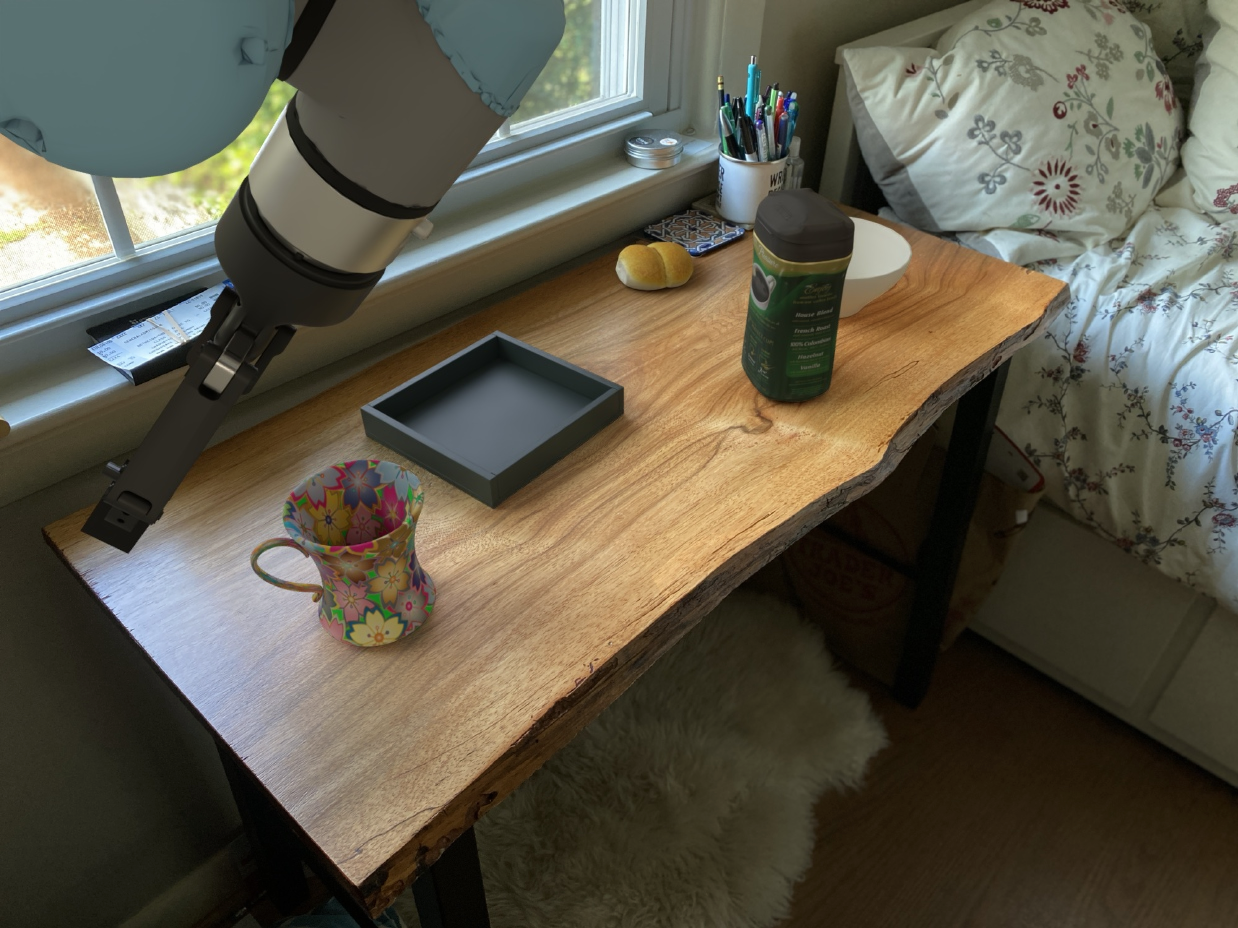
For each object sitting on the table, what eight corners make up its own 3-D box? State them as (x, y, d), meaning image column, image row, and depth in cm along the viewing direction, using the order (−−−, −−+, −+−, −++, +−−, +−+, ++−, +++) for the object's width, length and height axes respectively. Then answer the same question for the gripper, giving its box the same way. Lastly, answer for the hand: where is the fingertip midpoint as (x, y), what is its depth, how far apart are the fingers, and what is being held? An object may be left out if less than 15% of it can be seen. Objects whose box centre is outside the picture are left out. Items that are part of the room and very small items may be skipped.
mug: (422, 551, 74) (402, 445, 67) (459, 631, 67) (441, 522, 61) (267, 600, 70) (229, 492, 63) (290, 690, 63) (251, 580, 57)
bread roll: (703, 285, 109) (705, 254, 106) (630, 297, 107) (630, 265, 104) (677, 255, 115) (678, 225, 112) (608, 266, 113) (607, 235, 110)
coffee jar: (841, 399, 90) (873, 218, 79) (765, 411, 89) (786, 228, 77) (802, 349, 98) (826, 176, 86) (730, 359, 96) (745, 185, 85)
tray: (493, 509, 78) (489, 480, 76) (365, 435, 86) (359, 407, 84) (624, 413, 89) (624, 386, 87) (499, 356, 97) (497, 330, 95)
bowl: (768, 263, 113) (774, 208, 109) (903, 279, 110) (914, 223, 105) (746, 327, 101) (751, 268, 97) (897, 347, 98) (910, 287, 93)
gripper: (309, 434, 37) (126, 651, 49) (444, 153, 55) (286, 362, 67) (124, 327, 34) (-22, 587, 46) (331, 66, 52) (187, 302, 64)
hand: (160, 454), depth 56 cm, fingers open, 13 cm apart
